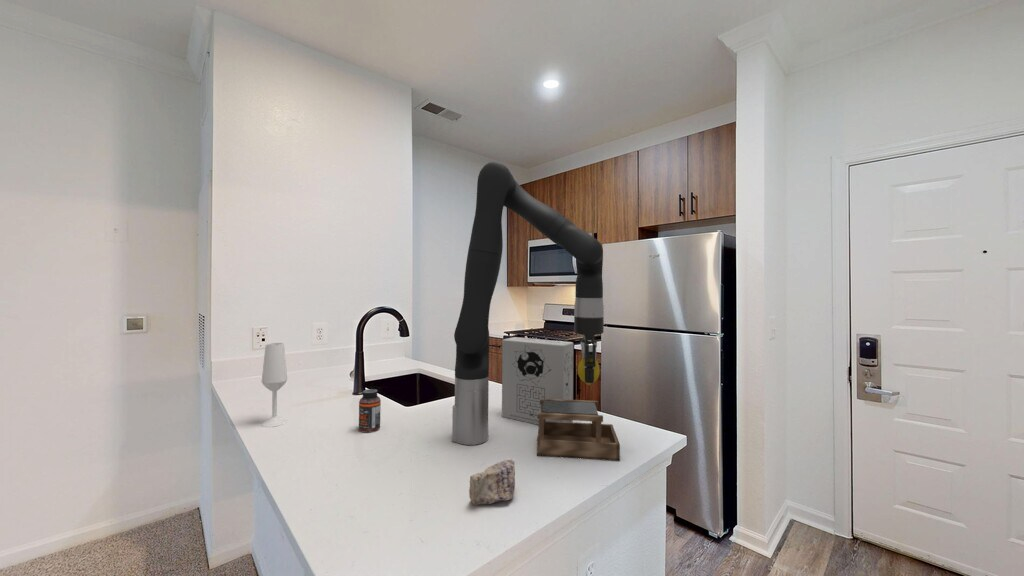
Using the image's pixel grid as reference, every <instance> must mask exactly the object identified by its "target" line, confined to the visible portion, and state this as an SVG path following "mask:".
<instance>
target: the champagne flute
mask: <svg viewBox="0 0 1024 576" xmlns="http://www.w3.org/2000/svg"><path fill="white" fill-rule="evenodd" d="M286 361H287V360H286V353H285V343H284V342H271V343H266V344H265V349H264V355H263V365H262V373H261V375H262V376H261V384H262V385H263V386H264V387H265V388H266V389H267V390H269V391H271V393H272V399H271V400H272V402H271V403H272V405H271V410H272V412H271V414H272V415H271V417H270V418H269V419H266V421H264V422H263V423H261V427H265V428H271V427H272V428H273V427H278V426H282V425H284V424H287V423H288V420H286V419H285V418H283V417H280V416H278V415H277V414H278V412H277V411H278V403H277V402H278V395H277V394H278V391H279V390H281V388H283V386H284V385H285V384H286V382H288V372H287V363H286Z"/></svg>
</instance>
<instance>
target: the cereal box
mask: <svg viewBox="0 0 1024 576" xmlns="http://www.w3.org/2000/svg"><path fill="white" fill-rule="evenodd" d="M501 341H502V345H501V347H502V350H501V355H502V358H501V360H502V361H501V362H502V363H501V371H502V372H501V417H503V418H505V419H512V420H515V421H519V422H525V423H529V424H534V425H538V426H539V419H537V413H538V412H540V413H541V404H540V399H564V400H574V342H573V341H562V340H552V339H551V340H549V339H542V338H541V339H540V338H528V337H517V336H513V337H509V338H508V337H507V338H504V339H502V340H501ZM546 421H552V422H573V423H574V420H570V421H569V420H553V419H546Z"/></svg>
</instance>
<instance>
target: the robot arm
mask: <svg viewBox="0 0 1024 576" xmlns="http://www.w3.org/2000/svg"><path fill="white" fill-rule="evenodd" d="M476 182H477V184H476V200H475V201H476V203H475V211H474V218H473V224H472V227H471V233H470V240H469V244H468V251H467V257H466V263H465V269H464V270H465V271H464V279H463V280H464V283H463V284H464V285H463V296H462V297H463V299H462V304H461V308H460V312H459V317H458V321H457V323H456V327H455V328H454V334H453V338H454V342H455V345H456V346H455V349H456V351H455V366H454V405H452V433H451V434H452V435H451V436H452V437H451V438H452V441H451V442H453V443H458V444H459V445H460V444H461V445H465V446H467V445H468V446H473V445H474V446H475V445H480V444H483V443H486V442H487V441H488V439H489V392H490V391H489V390H490V389H489V388H490V387H489V383H490V382H489V381H490V380H489V378H490V375H489V374H490V372H489V371H490V370H489V369H490V367H489V366H490V330H489V321H490V319H489V318H490V309H491V303H492V298H493V295H494V291H495V289H496V285H497V283H498V279H499V273H500V268H501V263H502V256H503V248H504V245H503V243H504V242H503V241H504V240H503V239H504V238H503V224H502V221H503V220H502V219H503V210H504V207H505V208H507V209H509V210H511V211H513V212H514V213H515V214H517V215H519V216H520V217H521V218H523V219H524V220H525V221H526V222H528V223H529V224H530V225H531V226H532V227H533V228H535V229H536V230H538V232H539V233H541V234H542V235H544V236H545V237H546V238H547V239H549V240H550V241H551V242H553V243H554V244H555V245H557V246H559V247H561V248H562V249H564V250H565V251H566V252H567V253H568V254H570V255H571V256H572V257H573V258H575V260H576V275H577V276H576V279H575V293H574V295H575V297H574V298H575V299H574V300H575V301H574V308H573V309H574V310H573V311H574V312H573V313H574V314H573V316H574V317H573V318H574V319H573V323H574V325H573V331H574V333H575V334H577V335H583V337H582V338H581V339H580V347H581V349H580V351H581V359H582V358H583V359H584V361H585V365H584V367H585V382H586V383H591V384H593V383H595V382H594V368H595V366H596V364H595V359H596V358H597V348H598V341H597V340H596V339H595V336H596V335H602V334H604V333H605V332H604V324H605V323H604V320H605V319H604V318H605V317H604V315H605V314H604V313H605V312H604V310H605V308H604V307H605V305H604V298H603V297H604V295H603V294H604V284H603V262H604V259H603V258H604V249H603V245H602V243H601V242H600V241H599V240H598V239H597V238H595V237H594V236H592V235H591V234H589V233H588V232H586V231H584V230H583V229H581V228H579V227H578V226H577V225H576V224H574V223H573V222H572V221H570V220H569V219H568V217H565V216H564V215H563V214H561V213H560V212H559V211H557V210H556V209H554V208H552V207H551V206H549V205H547V204H545V203H543V202H541V201H540V200H538V199H536V198H535V197H534V196H532V195H531V194H530V193H528V192H527V191H526V190H525V189H524V188H523V187H522V186H521V185H520V184H519V183H518V181H517V180H515V178H514V176H513V174H512V172H511V170H510V169H509V168H508V167H507V166H506V165H505V164H504V163H502V162H500V161H496V160H495V161H489V162H488V163H486V164H485V165H484V166H483V167H482V168H481V169H480V171H479V173H478V176H477V181H476ZM587 359H592V362H587ZM596 360H597V359H596ZM585 382H584V383H585ZM586 383H585V384H586Z"/></svg>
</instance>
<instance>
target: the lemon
mask: <svg viewBox="0 0 1024 576" xmlns="http://www.w3.org/2000/svg"><path fill="white" fill-rule="evenodd" d="M587 362H592V359H587ZM595 364H596V366H595V368H594V382H593V383H595V382H596V381H597V380H598V378H599V377H600V365H599V362H598V360H597V359H595ZM584 365H585V361H584V359H583V358H582V357H581V359H580V360H579V361H578V365H577V374H578V377H579V379H580V381H582V382H583V383H585V385H587V386H591V385H592V383H586V382H585V367H584Z"/></svg>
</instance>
